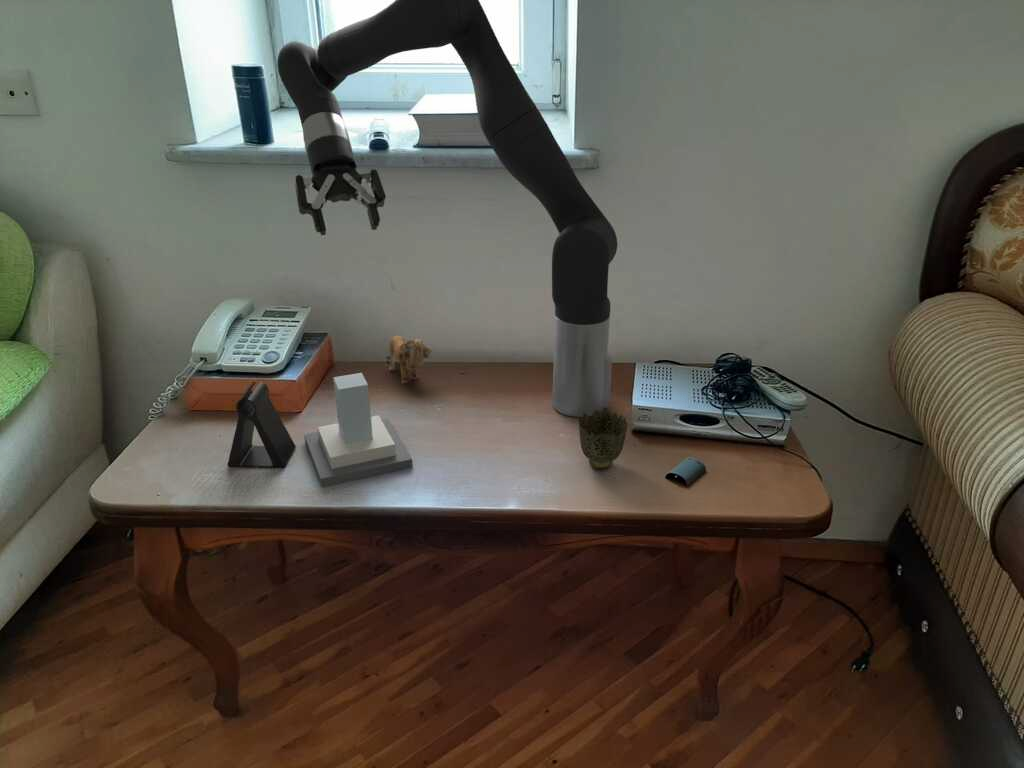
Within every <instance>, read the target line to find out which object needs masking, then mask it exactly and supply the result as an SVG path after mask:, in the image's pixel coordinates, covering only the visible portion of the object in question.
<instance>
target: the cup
mask: <svg viewBox="0 0 1024 768" xmlns="http://www.w3.org/2000/svg"><path fill="white" fill-rule="evenodd" d="M577 422H578V429H579V441H580V442H579V443H580V447H581V451H582V453H583V455H584V456H585V457H586V458H587V459H588V463H589V465H590V467H591V468H592V469H594V470H597V471H607V470H609V469H610V468H611V467H612V465H613V463H614V462H613V461H614V460H616V459H618V458H619V456H620V454H621V453H622V451H623V448H624V445H625V440H626V436H627V430H628V427H629V422H628V421H627V418H626V417H624V416H623V414H620V415H619V416H618V413H617V412H613V413H612V414H611V412H610V411H609V410H608V409H607V408H604V409H603V410H602V411H601V412H599V411H598V410H594V413H593V415H592V416H590V415H589V416H587V414H586V413H584V414H583V417H581V416H580V417H578V421H577Z"/></svg>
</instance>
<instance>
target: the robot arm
mask: <svg viewBox="0 0 1024 768" xmlns="http://www.w3.org/2000/svg"><path fill="white" fill-rule="evenodd" d="M446 45H451V46H452V47H453V48H454V50H455V51H456V53H457V54H458V56H459V57H460V60H461V61H462V63H463V64H464V66H465V68H466V70H467V72H468V74H469V76H470V79H471V82H472V86H473V90H474V91H473V92H474V97H475V105H476V111H477V117H478V122H479V125H480V128H481V130H482V133H483V135H484V137H485V140H487V142H488V144H489V146H490V147H491V148H492V150H493V152H494V153H495V155H496V157H497V158H498V160H499V161H500V163H501V164H502V165H503V167H504V168H505V170H507V172H508V173H509V174H511V176H512V177H513V178H514V179H515V180H516V181H517V182H519V183H520V185H522V186H523V187H524V188H525V189H526V190H527V191H528V192H530V193H531V194H532V195H533V196H534V197H535V198H536V199H537V200H538V201H539V202H540V204H542V206H543V207H544V208H545V210H546V212H547V213H548V215H549V217H550V219H551V220H552V222H553V224H554V226H555V227H556V229H557V232H558V235H557V237H556V238H555V240H554V242H553V248H552V253H551V254H552V255H551V297H552V302H553V303H554V332H553V333H554V336H553V338H554V339H553V340H554V341H553V343H554V344H553V373H552V374H553V375H552V378H553V379H552V395H551V396H552V407H553V408H554V409H555V411H557V412H559V413H561V414H562V415H566V416H569V417H574V418H575V417H577V418H579V417H580V416H581V417H583V414H584V413H586V414H587V417H588V416H589V415H590V416H592V415H593V413H594V410H598V411H599V412H601V411H603V410H605V409H607V408H610V397H611V395H610V394H611V384H612V383H611V381H612V380H611V379H612V363H613V359H612V357H611V356H610V355H608V352H609V351H608V350H609V349H608V348H609V337H610V336H609V335H610V321H611V319H610V317H611V300H610V299H609V297H608V289H609V288H608V287H609V286H608V283H609V269H610V268H609V266H610V264H611V262H612V261H613V260H614V259H615V256H616V254H617V251H618V238H617V234H616V232H615V231H616V230H615V229H614V227H613V226H612V224H611V223H610V221H609V220H608V218H607V217H606V216H605V215H604V213H603V212H602V211H601V209H600V208H599V207H598V205H597V204H596V202H595V201H594V200H593V199H592V197H591V196H590V195H589V194H588V192H587V191H586V189H585V188H584V186H583V185H582V183H581V182H580V181H579V179H578V177H577V175H576V174H575V172H574V170H573V168H572V166H571V164H570V162H569V160H568V159H567V156H566V155H565V153H564V152H563V150H562V148H561V146H560V145H559V143H558V142H557V140H556V138H555V136H554V135H553V132H552V131H551V129H550V127H549V125H548V123H547V122H546V120H545V118H544V117H543V115H542V113H541V112H540V110H539V109H538V108H537V105H536V103H535V102H534V100H533V99H532V98H531V96H530V95H529V93H528V91H527V89H526V88H525V86H524V85H523V83H522V81H521V80H520V77H519V75H518V73H517V72H516V71H515V69H514V66H513V65H512V64H511V62H510V60H509V58H508V57H507V55H506V54H505V52H504V50H503V48H502V45H501V44H500V42H499V39H498V38H497V35H496V34H495V32H494V29H493V27H492V25H491V23H490V21H489V19H488V16H487V14H486V12H485V10H484V7H483V6H482V3H481V2H480V0H394V1H393V2H392V3H391V4H389V5H388V6H386V7H385V8H383V9H382V10H380V11H378V12H377V13H375V14H374V15H372V16H369V17H367V18H365V19H361V20H359V21H357V22H354V23H351V24H349V25H347V26H344V27H342V28H340V29H338V30H336V31H333V32H332V33H329V34H327V35H326V36H324V37H322V39H321V40H320V41H319V43H318V45H317V48H315V47H312V46H311V45H309V44H306V43H303V42H301V41H296V40H291V41H289V42H287V43H285V44H284V45H283V46H282V47H281V48H280V50H279V53H278V56H277V71H278V75H279V77H280V79H281V82H282V84H283V86H284V88H285V91H286V92H287V93H288V95H289V97H290V99H291V100H292V103H293V104H294V106H295V107H296V108H297V111H298V116H299V120H300V124H301V128H302V136H303V144H304V150H305V152H306V156H307V159H308V162H309V166H310V167H309V168H310V171H311V175H312V177H308V178H305V177H303V176H302V175H300V174H299V175H296V176H295V185H294V187H295V193H296V201H297V206H298V207H297V208H298V211H299V214H301V215H302V216H303V215H310V216H311V217H312V220H313V224H314V225H313V226H314V229H315V231H316V233H319V234H320V236H326V235H327V234H326V232H327V229H326V222H325V220H324V216H323V211H322V210H323V208H325V205H326V204H327V202H328V201H330V202H331V203H337V202H341V201H343V202H350V201H351V200H353V201H354V202H356V204H358V205H361V206H363V208H365V209H366V210H367V211H366V213H367V216H368V221H369V225H370V228H371V230H372V231H377V228H378V227H379V226H380V221H381V217H380V214H379V210H378V208H383V207H385V201H386V198H387V196H386V192H385V190H384V187H383V183H382V182H381V178H380V175H379V173H378V170H377V169H373V168H372V169H371V170H370V172H367V173H361V172H360V171H359V169H358V168H357V162H356V159H355V156H354V152H353V148H352V145H351V144H352V143H351V141H350V140H351V139H350V136H349V133H348V130H347V127H346V125H345V123H344V120H343V116H342V113H341V109H340V104H339V102H338V101H339V100H338V99H337V97H336V95H335V94H334V93H333V91H334V90H336V88H338V87H339V86H340V84H342V83H343V82H344V80H346V79H347V78H348V76H351V75H354V74H356V73H360V72H361V71H365V70H367V69H368V68H370V67H372V66H375V65H377V64H378V63H380V62H381V61H383V60H384V59H386V58H388V57H390V56H393V55H397V54H400V53H402V52H403V53H404V52H409V51H415V50H423V49H431V48H432V49H433V48H442V47H445V46H446ZM362 182H363V183H365V184H366V186H367V187H368V188H371V192H372V194H373V195H372V194H370V193H369V192H368V191H367V188H365V187H364V186H363V185H362ZM310 187H312V188H313V189H314V190H315V191H317V194H316V197H315V199H314V200H313V202H311V203H310V202H308V199H307V193H308V191H309V188H310Z"/></svg>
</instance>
